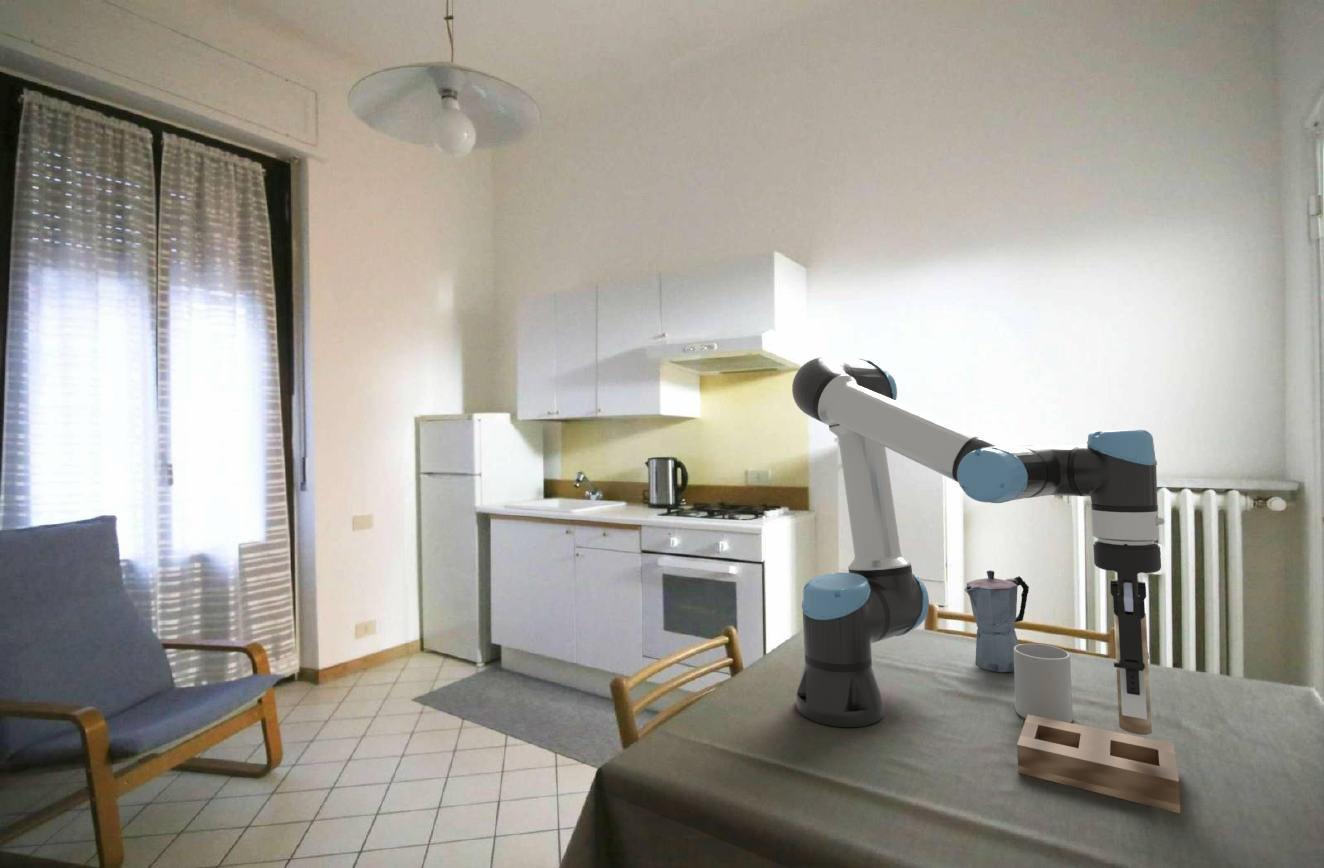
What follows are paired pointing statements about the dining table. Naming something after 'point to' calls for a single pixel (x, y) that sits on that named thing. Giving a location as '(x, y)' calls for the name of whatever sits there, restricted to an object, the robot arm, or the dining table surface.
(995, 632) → the moka pot
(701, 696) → the dining table surface
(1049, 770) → the bore block
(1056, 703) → the mug
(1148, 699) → the pin
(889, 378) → the robot arm
